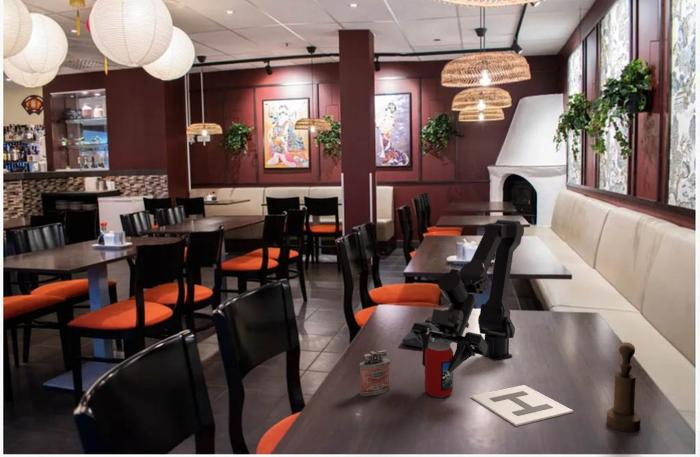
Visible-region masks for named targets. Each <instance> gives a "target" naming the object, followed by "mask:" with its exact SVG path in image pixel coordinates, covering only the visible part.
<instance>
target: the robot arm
mask: <svg viewBox="0 0 700 457" xmlns="http://www.w3.org/2000/svg"><path fill="white" fill-rule="evenodd" d="M524 233H525V228H524V225H523V224H522V223H521V221H520V220H513V219H511V220H509V219H497V220H496V221H494V222H488V223H487V224H485V226H484V232H483V235H482V236H481V239H480V241H479V243H478V245H477V248H476V250H475V252H474V254H473V256H472V258H470V261H468V262H467V263H465V264H464V265H462V267H461V268H460V270H459V269H454V268H451V269H450V271H449V272H446V273H444V274H442V275H441V277H439V278H438V281H437V286H438V289H439V290H440V291H441V293H442V295H443V296H444V298H445V299H446V301H447V303H449V306H448V308H447V309H444V310H441V309H436V308H434V309H432V314H431V316H430V317H431V322H434V323H436V325H435V326H436V328H438V329H439V331H435V330H432V329H431V327H430V326H429V324H425V323H423V322H420V321H416V322H414V323H413V324H412V327H411V329H410V331H412V333H413V334H414V335H415V337H416V338H417V339H418V340H419V341H420V342H423V349H422V357H421V358H422V362H421V363H422V366H423V367H425V350H426V349H427V347H428V344H429V343H432V342H433V341H434V338H435V339H439V340H444V341H449V342H452V343H454V344H456V349H455V352H454V353H453V358H452V361H451V363H450V365H449V369H448V371H449V373H451V372H452V371H453V372H454V371H455V370H456V369H457V368H458V367H459V366H460V365H461V364H463V363H464V362H465V361H467V360H468V359H469V358H471V357H475V356H476V355H480V356H485V357H488V358H490V359H492V360H493V361H494V360H495V361H497V360H501V359H508V358H513V354H511V353H510V339H513V338H515V333H516V331H515V330H516V327H515V325H514V322H513V321H512V319H511V310H510V308H509V305H508V303H507V297H508V292H509V285H510V284H509V283H510V278H511V277H510V276H511V270H512V263H513V257H514V256H513V255H514V252H515V251H516V249H517V248H518V247H519V246H520V245H521V243H522V238H523V236H524ZM493 259H494V261H493ZM492 261H493V262H494V263H493V268H492V276H491V282H490V289H489V297H488V299H487V301H485V303H482V304H481V306H480V310H479V311H480V312H479V315H478V319H477V322H478V323H477V324H478V328H479V333H477V332H471V331H466V332H465V330H466V329H469V327H470V324H469V319H470V318H471V314H472V312H473V311H474V310H473V309H475V310H476V309H477V308H478V304H477V303H476V298H475V297H474V296H473V295H478V296H479V295H483V294H484V292H485V291H486V290H487V289H488V286H489V278H490V277H489V273H488V270H489V267H490V265H492V264H491V263H492ZM464 333H465V335H463V334H464ZM483 335H484V337H483Z"/></svg>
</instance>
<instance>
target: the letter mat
mask: <svg viewBox="0 0 700 457" xmlns="http://www.w3.org/2000/svg"><path fill="white" fill-rule="evenodd" d="M470 398H471V399H472V400H474V401H475V402H477V403H479V404H480V405H482V406H483V407H485V408H486V409H488V410H489V411H491V412H493V413H494V414H496V415H497V416H499V417H501V418H502V419H504V420H505V421H507V422H509V423H510V424H511V425H514V426H515V427H518V426H523V425H526V424H530V423H534V422H539V421H544V420H547V419H552V418H555V417H560V416H564V415H568V414H571V413H574V410H573V409H571V408H569V407H567V406H566V405H563V404H562V403H559V402H558V401H556V400H554V399H552V398H550V397H548V396H547V395H544V394H543V393H541V392H538V391H537V390H536V389H533V388H532V387H529V386H527V385H525V384H522V385H518V386H517V385H516V386H512V387H508V388H504V389H499V390H493V391H489V392H484V393H480V394H475V395H471V396H470Z"/></svg>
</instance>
